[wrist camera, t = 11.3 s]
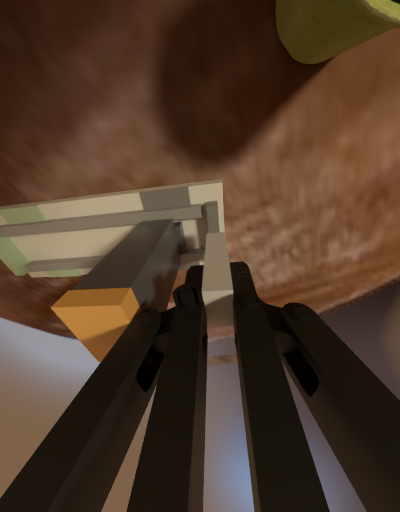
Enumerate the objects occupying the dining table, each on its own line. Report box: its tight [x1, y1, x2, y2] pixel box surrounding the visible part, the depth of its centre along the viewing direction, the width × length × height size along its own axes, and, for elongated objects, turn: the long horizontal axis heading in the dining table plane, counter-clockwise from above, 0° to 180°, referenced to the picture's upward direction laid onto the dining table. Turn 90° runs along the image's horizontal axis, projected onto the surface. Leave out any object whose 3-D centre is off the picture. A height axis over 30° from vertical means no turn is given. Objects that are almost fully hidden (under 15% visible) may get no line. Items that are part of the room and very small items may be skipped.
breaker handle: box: [50, 218, 186, 362], centre depth 13 cm, size 4×4×11 cm
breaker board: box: [0, 179, 224, 278], centre depth 18 cm, size 26×9×4 cm, turn 97°
